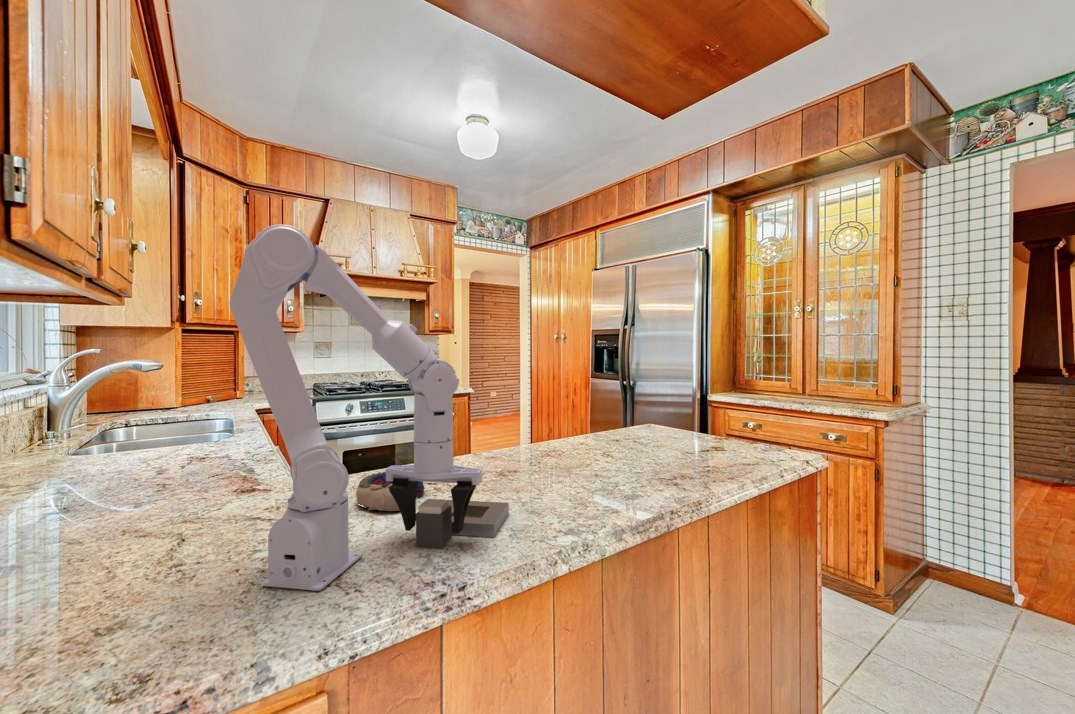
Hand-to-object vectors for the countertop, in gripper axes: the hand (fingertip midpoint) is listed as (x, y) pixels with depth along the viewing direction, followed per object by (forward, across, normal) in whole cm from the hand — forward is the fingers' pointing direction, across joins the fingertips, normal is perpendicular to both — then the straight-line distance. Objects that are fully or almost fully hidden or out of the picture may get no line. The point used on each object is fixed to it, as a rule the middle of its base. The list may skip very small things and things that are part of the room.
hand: (434, 529), depth 67 cm
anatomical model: (+2, +16, -17) cm, 23 cm away
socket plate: (+2, -3, -8) cm, 9 cm away
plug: (+2, 0, 0) cm, 2 cm away
